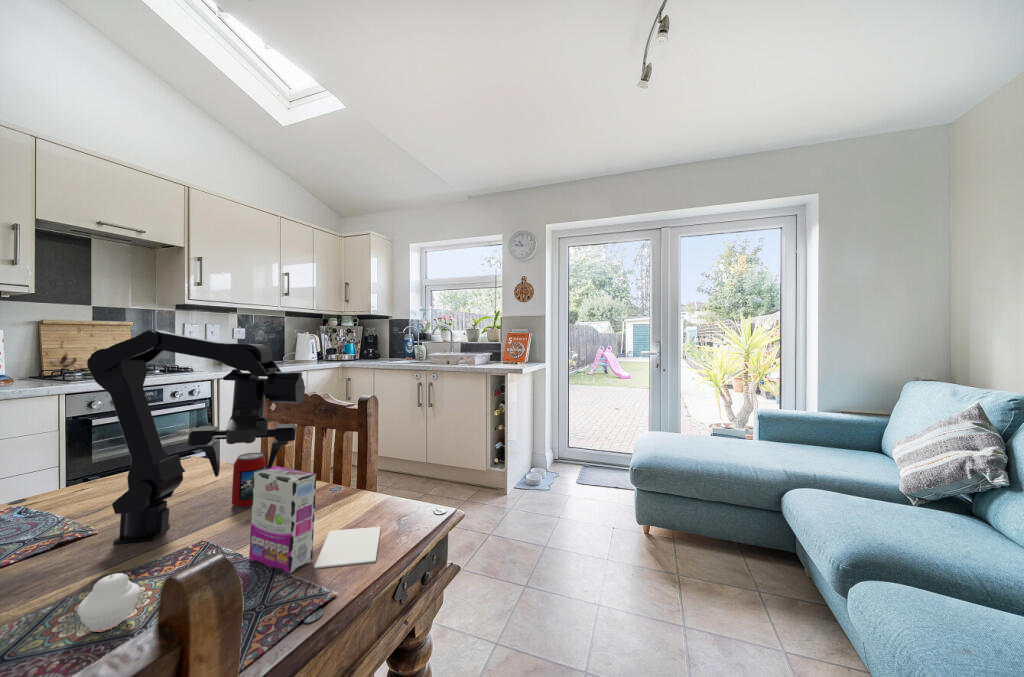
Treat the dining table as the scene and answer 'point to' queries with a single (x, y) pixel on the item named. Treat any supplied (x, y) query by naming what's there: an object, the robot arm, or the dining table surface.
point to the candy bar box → (282, 518)
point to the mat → (349, 547)
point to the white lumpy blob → (108, 602)
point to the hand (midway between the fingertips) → (243, 474)
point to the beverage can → (245, 477)
